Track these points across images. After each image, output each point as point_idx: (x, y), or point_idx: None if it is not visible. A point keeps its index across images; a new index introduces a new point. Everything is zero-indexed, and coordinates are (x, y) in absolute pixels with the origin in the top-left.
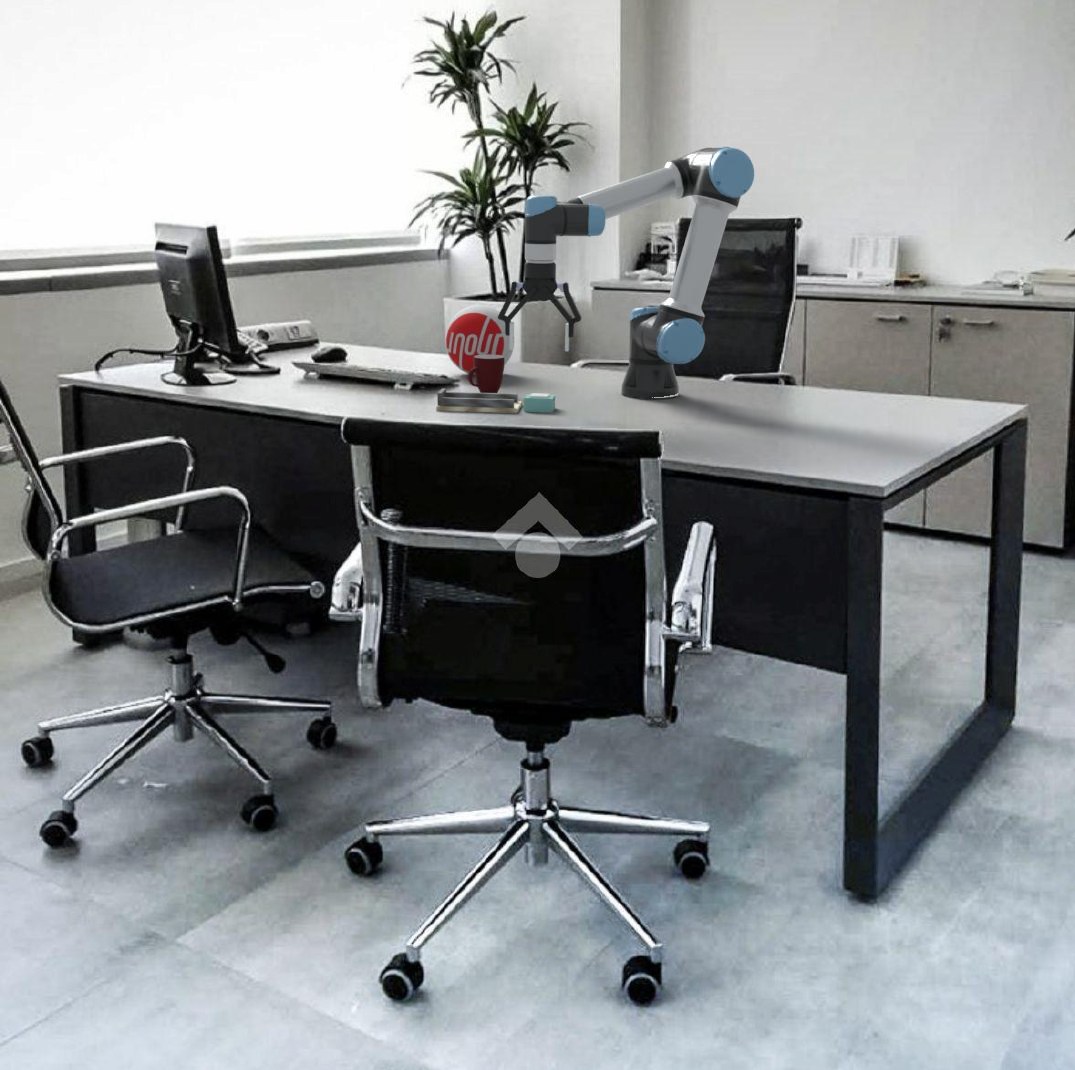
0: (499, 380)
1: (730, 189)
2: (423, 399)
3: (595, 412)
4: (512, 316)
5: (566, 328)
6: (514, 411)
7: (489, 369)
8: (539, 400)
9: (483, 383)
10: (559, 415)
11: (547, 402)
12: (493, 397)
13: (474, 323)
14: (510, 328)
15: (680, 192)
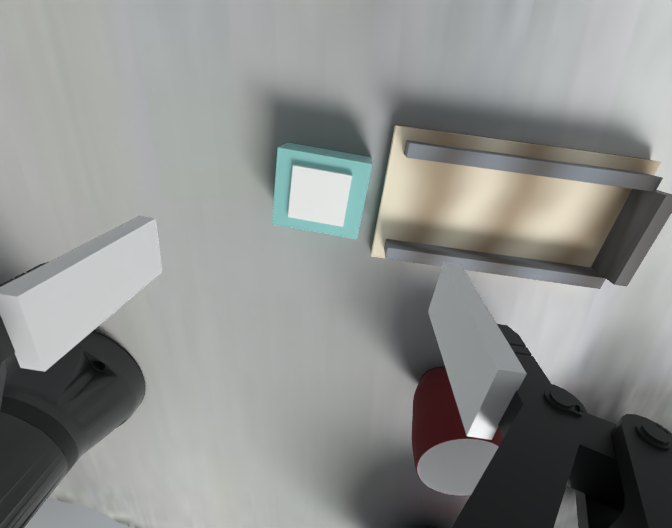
0: (422, 394)
1: None
2: (624, 327)
3: (163, 146)
4: (526, 425)
5: (39, 275)
6: (403, 126)
7: None
8: (321, 153)
9: None
10: (263, 87)
11: (296, 148)
12: (457, 253)
13: None
14: (500, 339)
15: None
